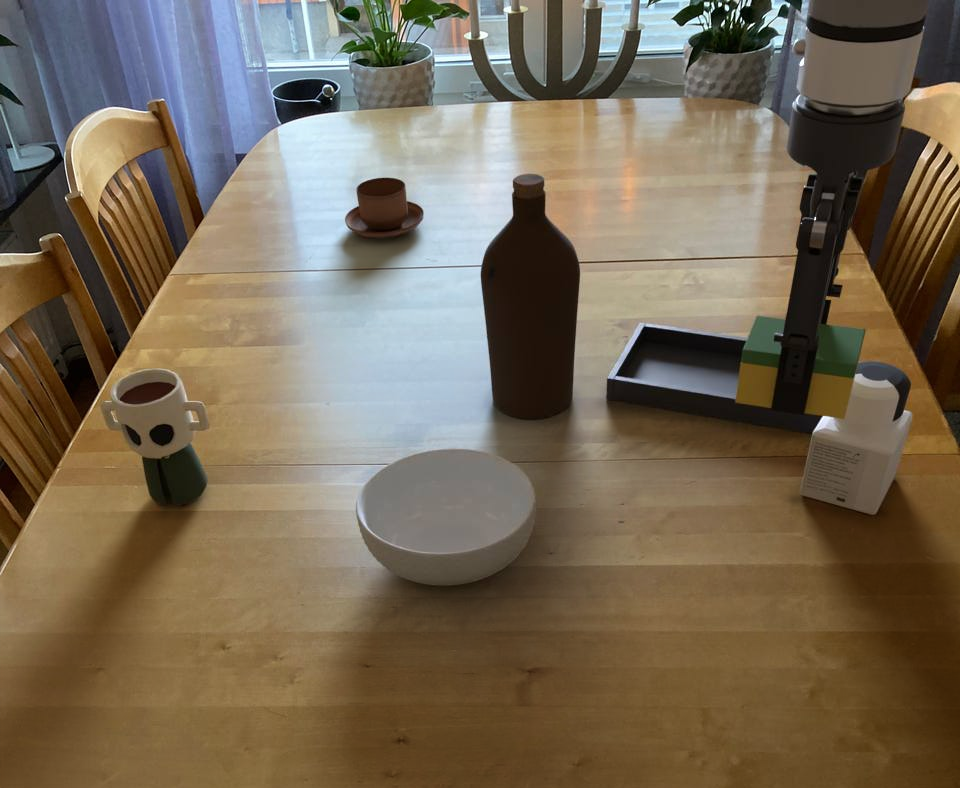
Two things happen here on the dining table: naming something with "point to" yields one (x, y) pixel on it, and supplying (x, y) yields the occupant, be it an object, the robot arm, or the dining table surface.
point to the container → (861, 441)
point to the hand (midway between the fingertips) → (794, 388)
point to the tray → (691, 377)
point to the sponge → (829, 370)
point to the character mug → (160, 431)
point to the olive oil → (530, 308)
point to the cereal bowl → (446, 515)
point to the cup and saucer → (383, 209)
